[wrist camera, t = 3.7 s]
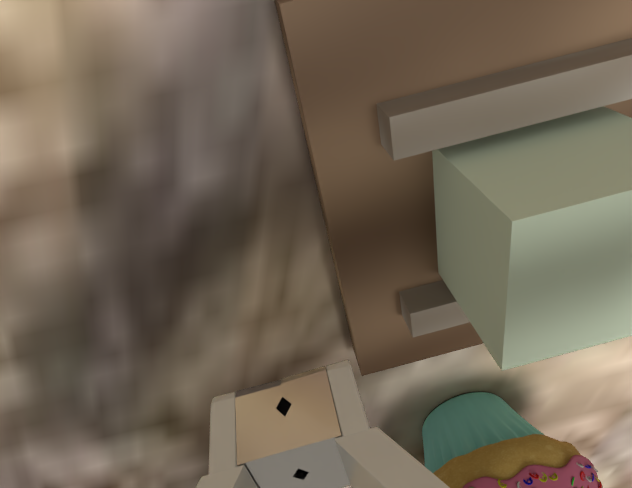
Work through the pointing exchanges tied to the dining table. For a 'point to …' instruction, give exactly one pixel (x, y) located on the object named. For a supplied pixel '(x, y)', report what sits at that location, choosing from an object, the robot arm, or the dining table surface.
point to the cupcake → (498, 448)
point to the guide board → (429, 132)
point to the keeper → (540, 234)
